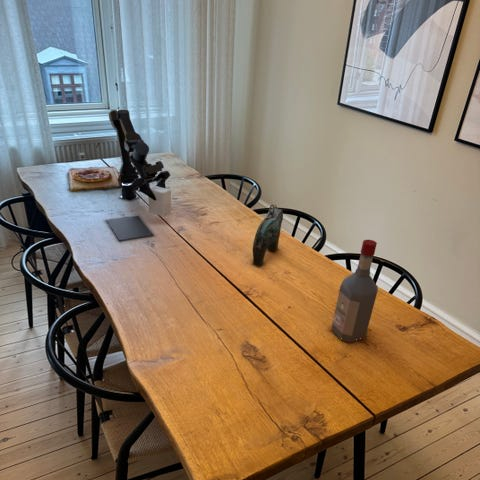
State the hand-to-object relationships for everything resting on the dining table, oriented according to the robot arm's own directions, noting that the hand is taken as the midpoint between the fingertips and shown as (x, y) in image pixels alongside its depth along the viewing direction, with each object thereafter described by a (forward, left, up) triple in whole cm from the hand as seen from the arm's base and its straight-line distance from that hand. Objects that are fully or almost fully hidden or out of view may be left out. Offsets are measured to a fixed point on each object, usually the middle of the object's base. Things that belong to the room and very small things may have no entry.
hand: (161, 198), depth 191 cm
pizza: (-23, -63, -11) cm, 68 cm away
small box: (0, -1, -7) cm, 7 cm away
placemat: (+13, -7, -11) cm, 19 cm away
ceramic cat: (+2, +53, -11) cm, 54 cm away
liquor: (+33, +97, -11) cm, 103 cm away
